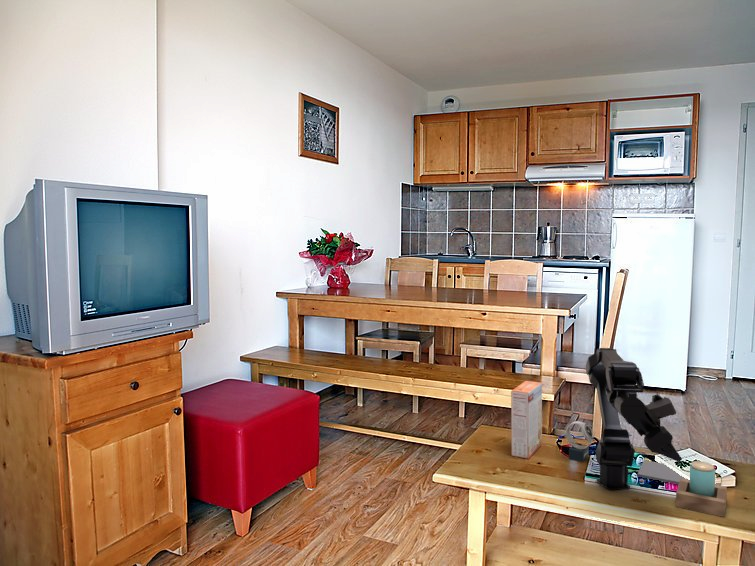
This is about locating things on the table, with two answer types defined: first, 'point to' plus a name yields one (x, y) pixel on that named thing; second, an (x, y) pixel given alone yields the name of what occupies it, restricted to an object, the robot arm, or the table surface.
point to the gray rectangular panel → (659, 472)
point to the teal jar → (702, 478)
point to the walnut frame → (701, 499)
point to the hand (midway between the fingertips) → (675, 453)
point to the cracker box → (526, 419)
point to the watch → (577, 450)
